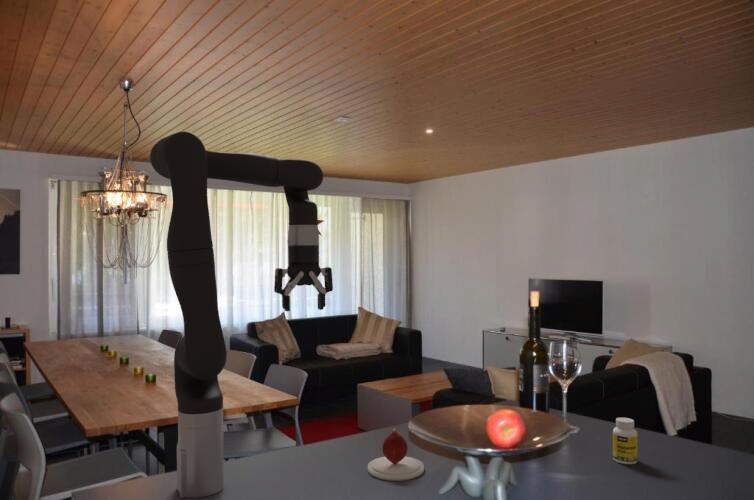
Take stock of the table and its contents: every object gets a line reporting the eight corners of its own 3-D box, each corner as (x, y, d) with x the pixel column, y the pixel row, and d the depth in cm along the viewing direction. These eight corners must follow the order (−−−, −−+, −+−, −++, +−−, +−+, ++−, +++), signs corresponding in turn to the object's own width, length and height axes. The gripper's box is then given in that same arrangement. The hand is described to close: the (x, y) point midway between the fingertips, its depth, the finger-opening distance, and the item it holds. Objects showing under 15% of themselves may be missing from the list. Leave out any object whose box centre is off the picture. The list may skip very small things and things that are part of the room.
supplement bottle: (614, 464, 137) (614, 422, 137) (611, 456, 142) (610, 415, 142) (639, 465, 136) (639, 423, 136) (635, 457, 141) (634, 417, 141)
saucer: (383, 484, 126) (383, 478, 126) (358, 465, 138) (358, 459, 138) (434, 474, 132) (434, 468, 132) (407, 456, 144) (407, 451, 144)
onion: (412, 466, 133) (411, 431, 133) (388, 470, 131) (388, 434, 131) (401, 458, 139) (400, 424, 139) (378, 461, 136) (378, 427, 136)
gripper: (279, 243, 137) (280, 313, 137) (336, 243, 143) (337, 310, 143) (270, 244, 144) (271, 310, 144) (325, 244, 150) (326, 307, 150)
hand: (304, 310), depth 143 cm, fingers open, 8 cm apart
